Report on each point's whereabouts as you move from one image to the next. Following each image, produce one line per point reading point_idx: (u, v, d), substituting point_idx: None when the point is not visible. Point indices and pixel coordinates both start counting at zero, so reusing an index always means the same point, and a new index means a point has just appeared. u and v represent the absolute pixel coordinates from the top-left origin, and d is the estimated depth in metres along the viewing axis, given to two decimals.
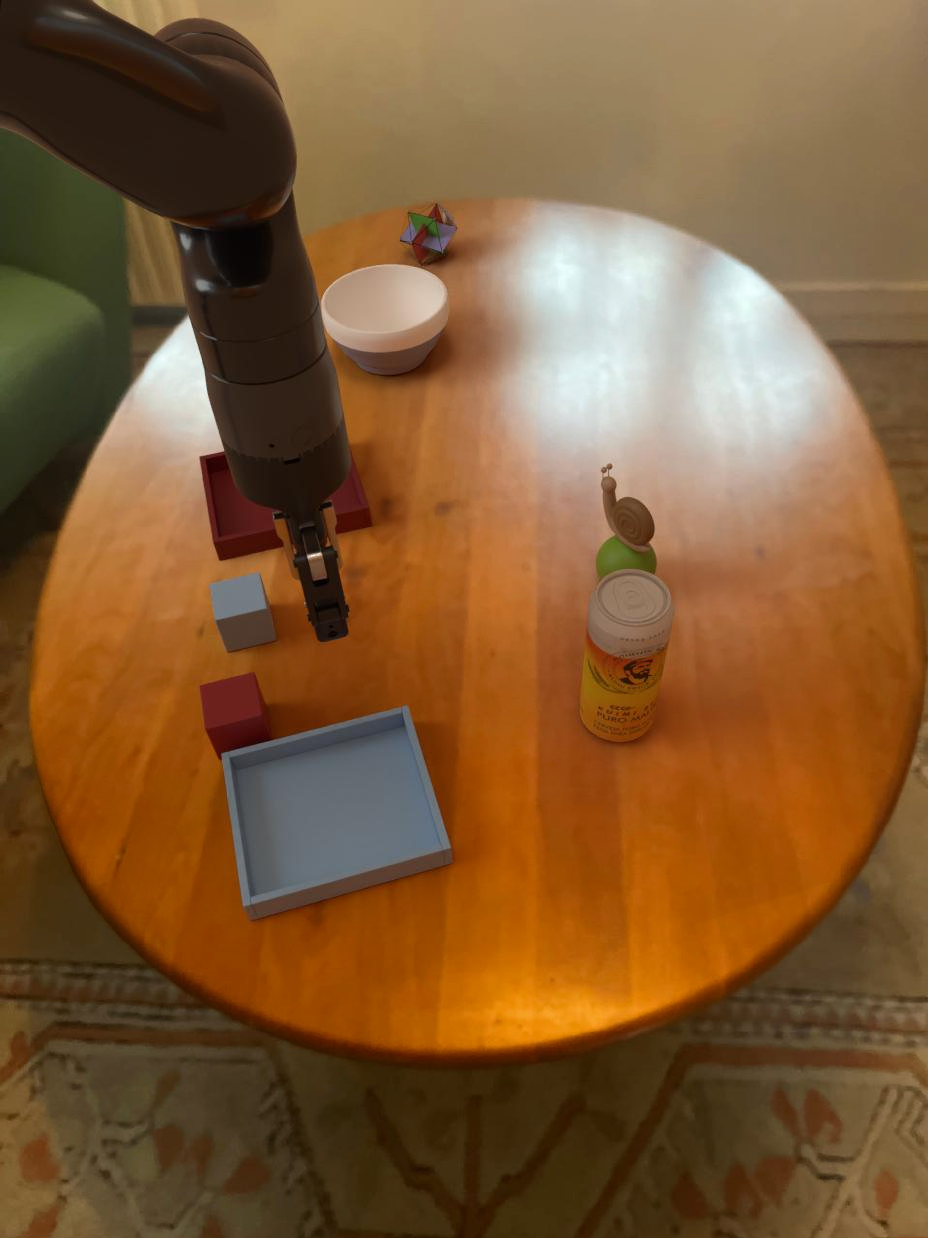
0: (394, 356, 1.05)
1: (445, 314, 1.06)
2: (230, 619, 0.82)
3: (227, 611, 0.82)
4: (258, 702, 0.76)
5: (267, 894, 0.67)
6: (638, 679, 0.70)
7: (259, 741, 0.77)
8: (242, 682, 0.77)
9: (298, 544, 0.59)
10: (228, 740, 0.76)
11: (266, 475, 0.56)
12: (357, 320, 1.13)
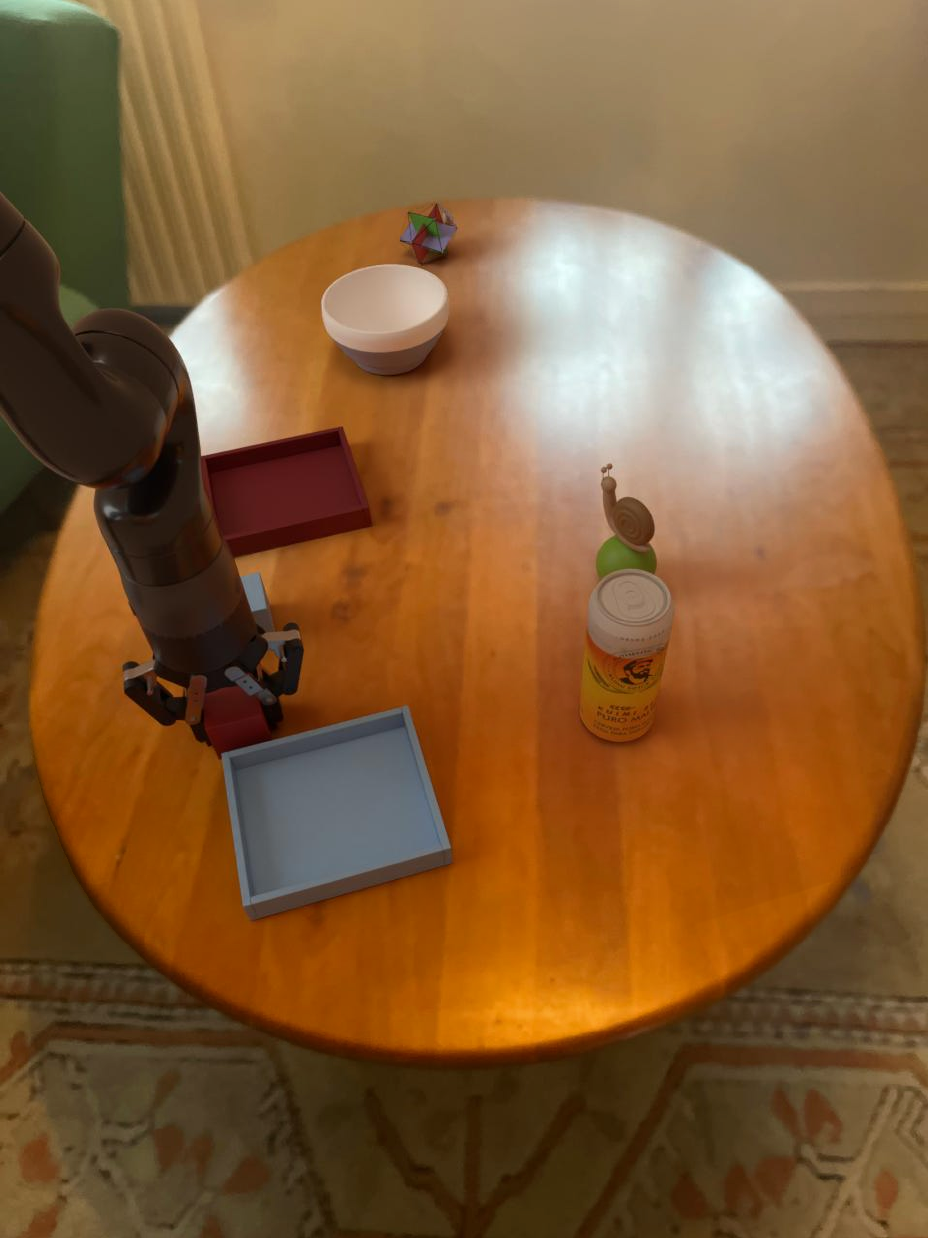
0: (394, 356, 1.05)
1: (445, 314, 1.06)
2: None
3: None
4: (258, 702, 0.76)
5: (267, 894, 0.67)
6: (638, 679, 0.70)
7: (259, 741, 0.77)
8: None
9: None
10: (228, 740, 0.76)
11: None
12: (357, 320, 1.13)
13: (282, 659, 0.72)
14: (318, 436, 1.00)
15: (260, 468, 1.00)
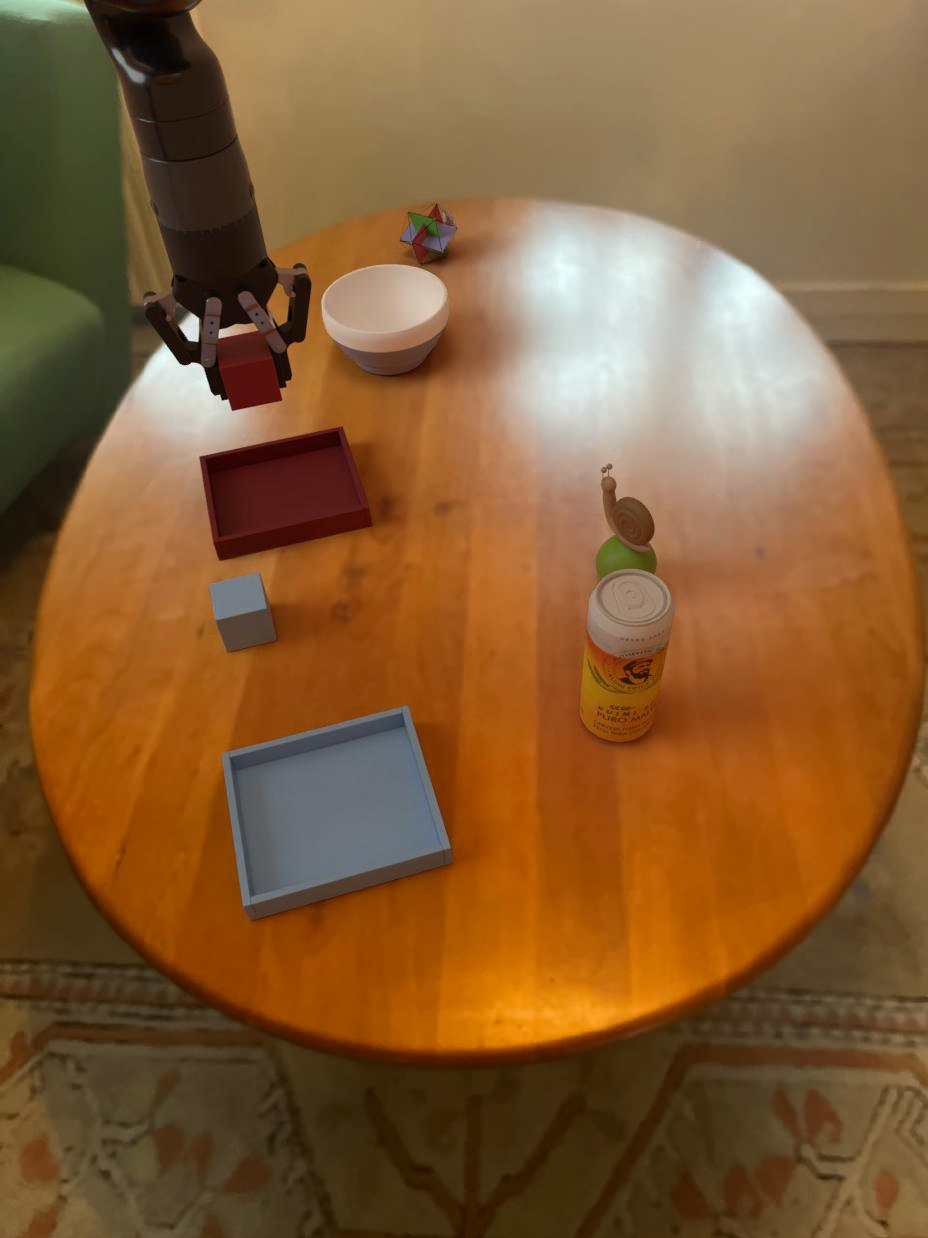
0: (394, 356, 1.05)
1: (445, 314, 1.06)
2: (230, 619, 0.82)
3: (227, 611, 0.82)
4: (269, 349, 0.81)
5: (267, 894, 0.67)
6: (638, 679, 0.70)
7: (270, 392, 0.83)
8: (253, 336, 0.82)
9: None
10: (241, 386, 0.81)
11: None
12: (357, 320, 1.13)
13: (291, 293, 0.78)
14: (318, 436, 1.00)
15: (260, 468, 1.00)
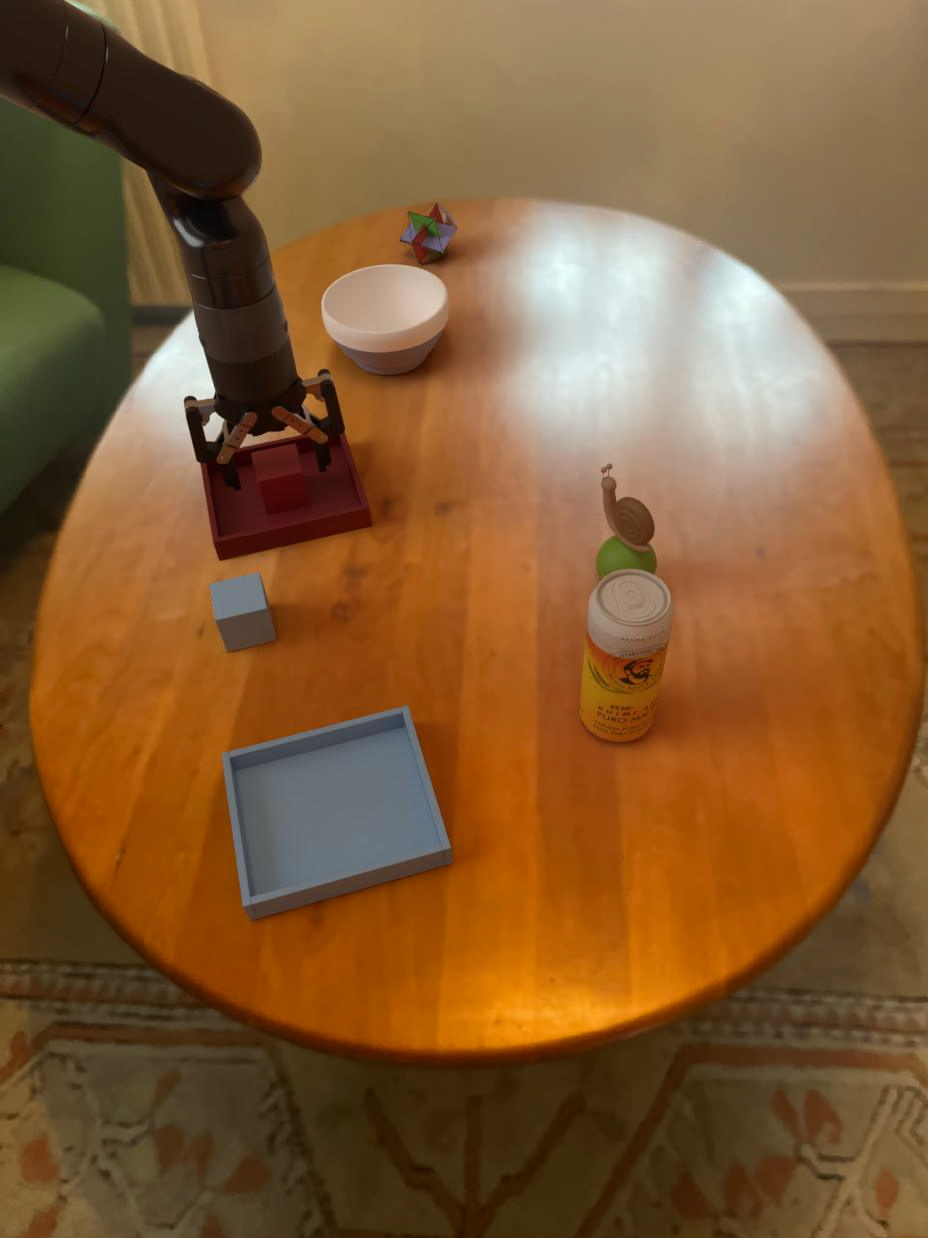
0: (394, 356, 1.05)
1: (445, 314, 1.06)
2: (230, 619, 0.82)
3: (227, 611, 0.82)
4: (299, 463, 0.93)
5: (267, 894, 0.67)
6: (638, 679, 0.70)
7: (300, 498, 0.95)
8: (286, 450, 0.95)
9: None
10: (275, 494, 0.94)
11: None
12: (357, 320, 1.13)
13: (320, 399, 0.88)
14: None
15: None
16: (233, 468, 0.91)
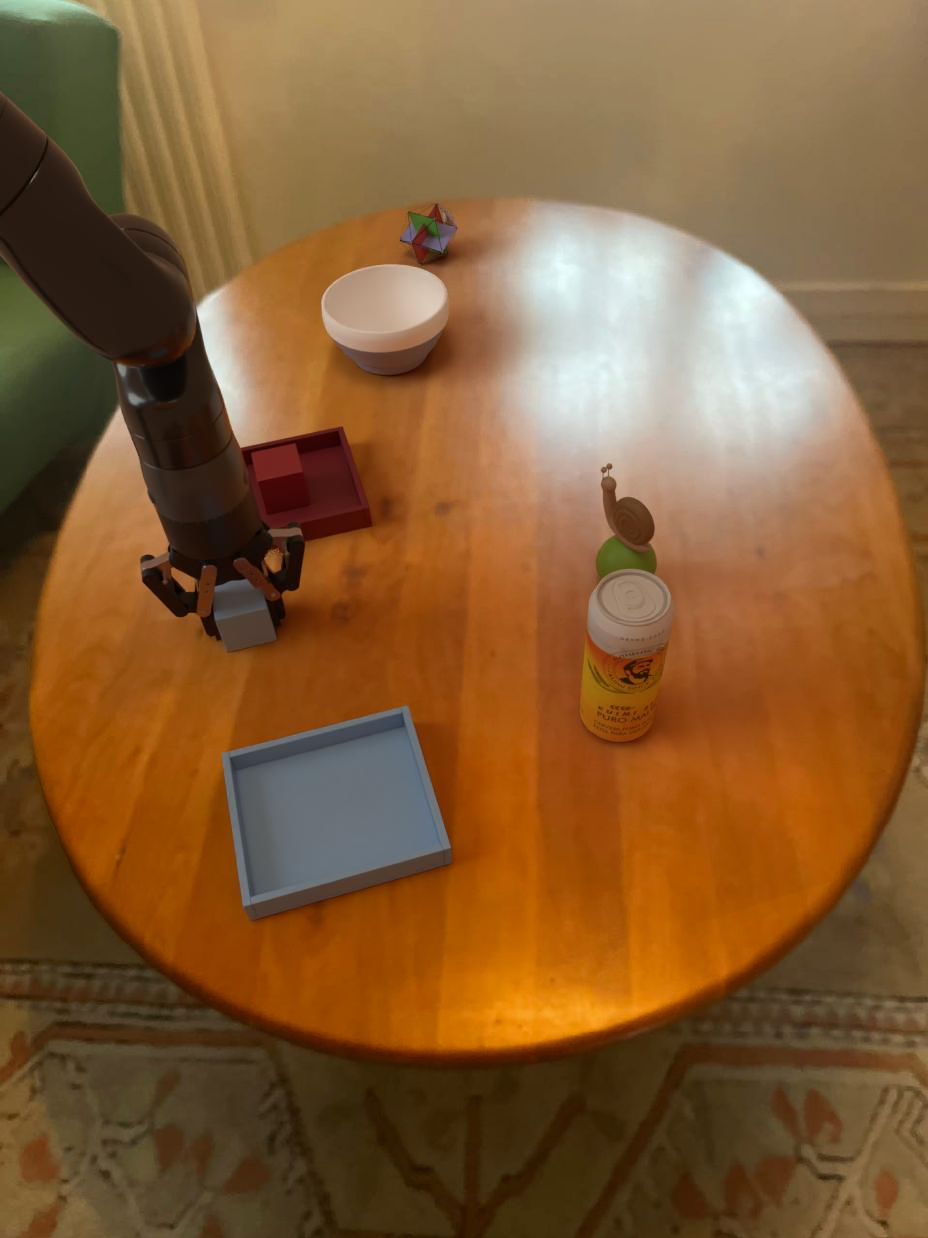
0: (394, 356, 1.05)
1: (445, 314, 1.06)
2: (230, 619, 0.82)
3: (227, 611, 0.82)
4: (299, 463, 0.93)
5: (267, 894, 0.67)
6: (638, 679, 0.70)
7: (300, 498, 0.95)
8: (286, 450, 0.95)
9: None
10: (275, 494, 0.94)
11: None
12: (357, 320, 1.13)
13: (285, 554, 0.79)
14: (318, 436, 1.00)
15: None
16: None
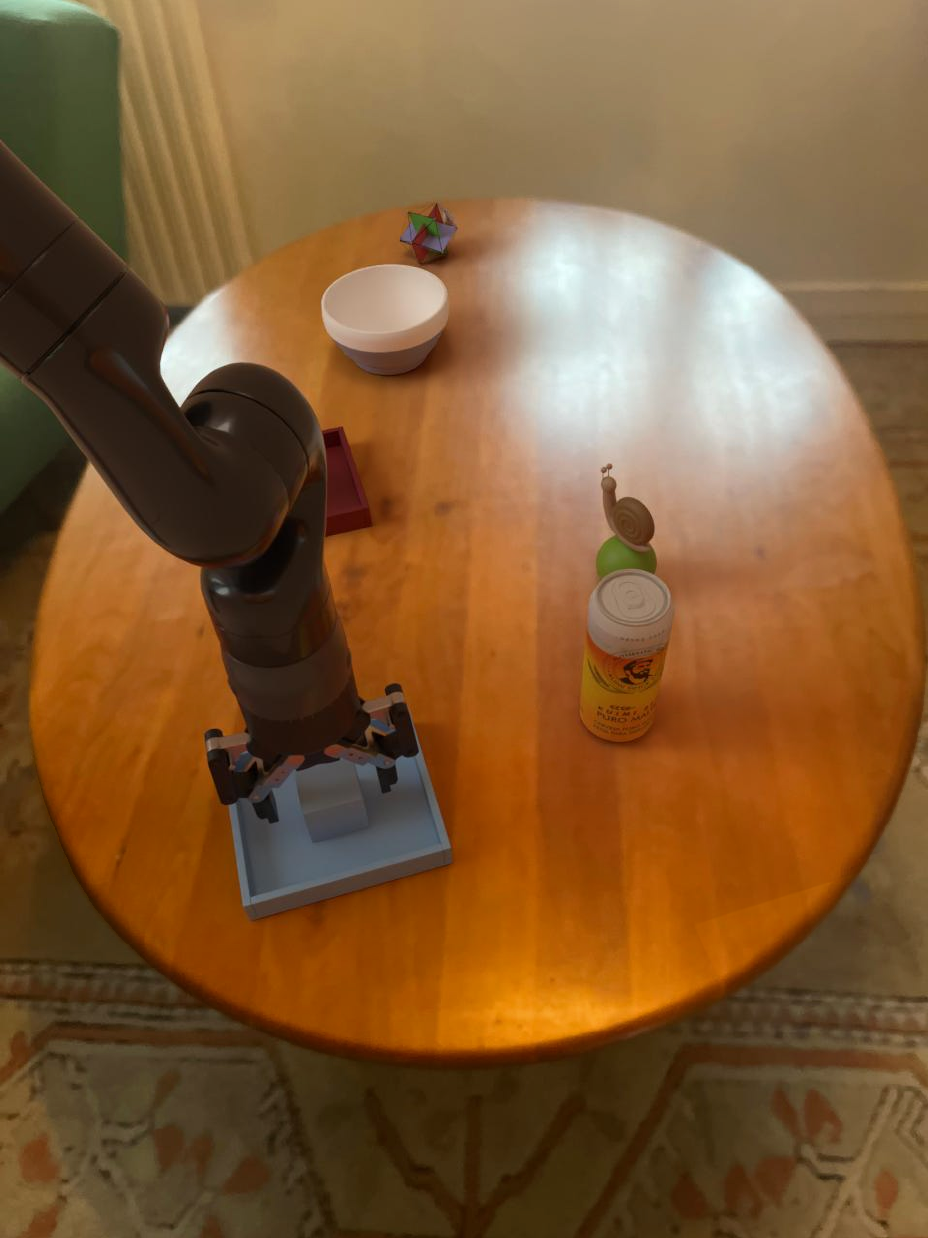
0: (394, 356, 1.05)
1: (445, 314, 1.06)
2: (320, 812, 0.69)
3: (316, 802, 0.69)
4: None
5: (267, 894, 0.67)
6: (638, 679, 0.70)
7: None
8: None
9: None
10: None
11: None
12: (357, 320, 1.13)
13: (389, 727, 0.65)
14: None
15: None
16: (269, 804, 0.68)
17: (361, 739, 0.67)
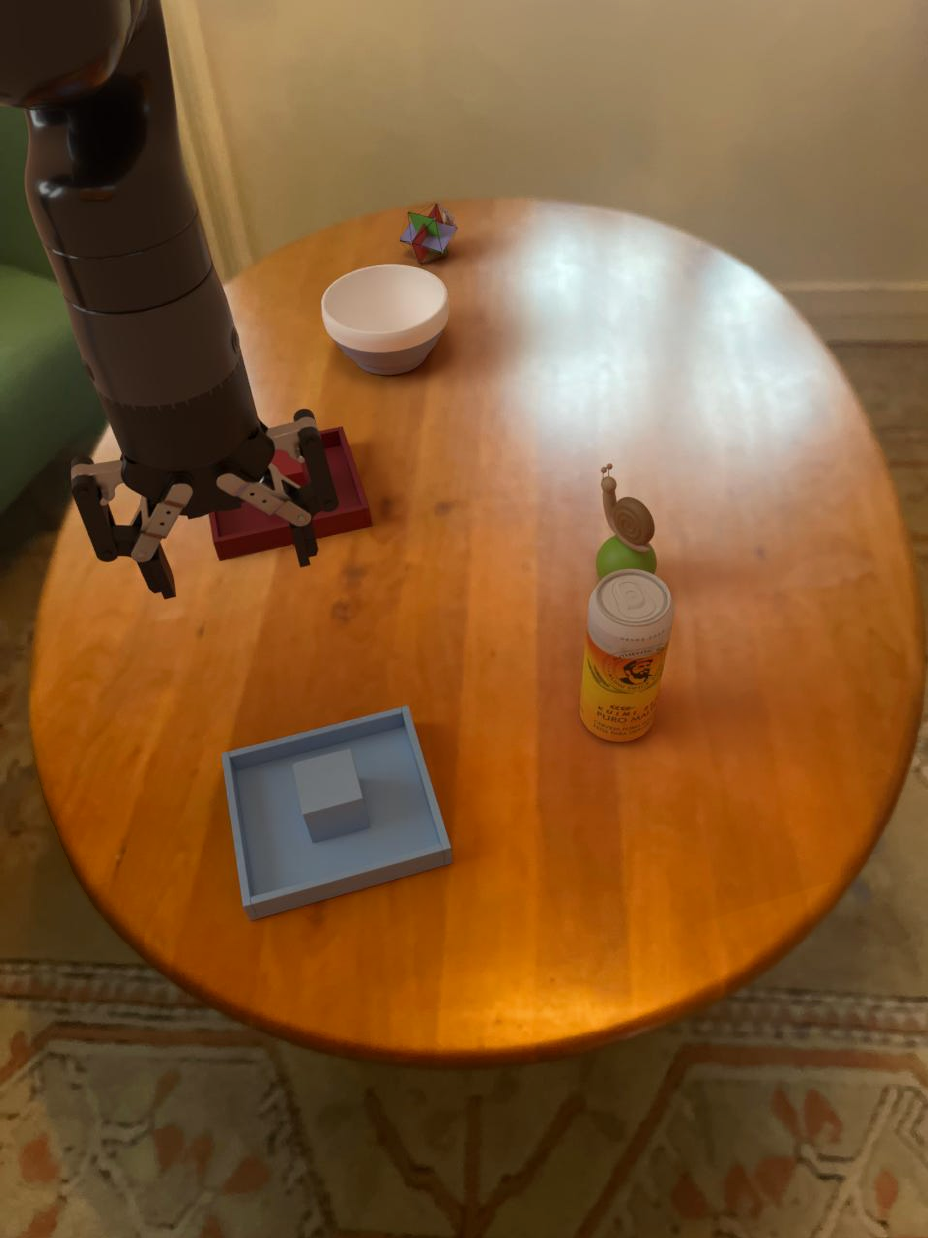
0: (394, 356, 1.05)
1: (445, 314, 1.06)
2: (320, 812, 0.69)
3: (316, 802, 0.69)
4: (299, 463, 0.93)
5: (267, 894, 0.67)
6: (638, 679, 0.70)
7: None
8: None
9: None
10: None
11: None
12: (357, 320, 1.13)
13: (298, 459, 0.54)
14: None
15: None
16: (160, 567, 0.57)
17: (268, 484, 0.56)
